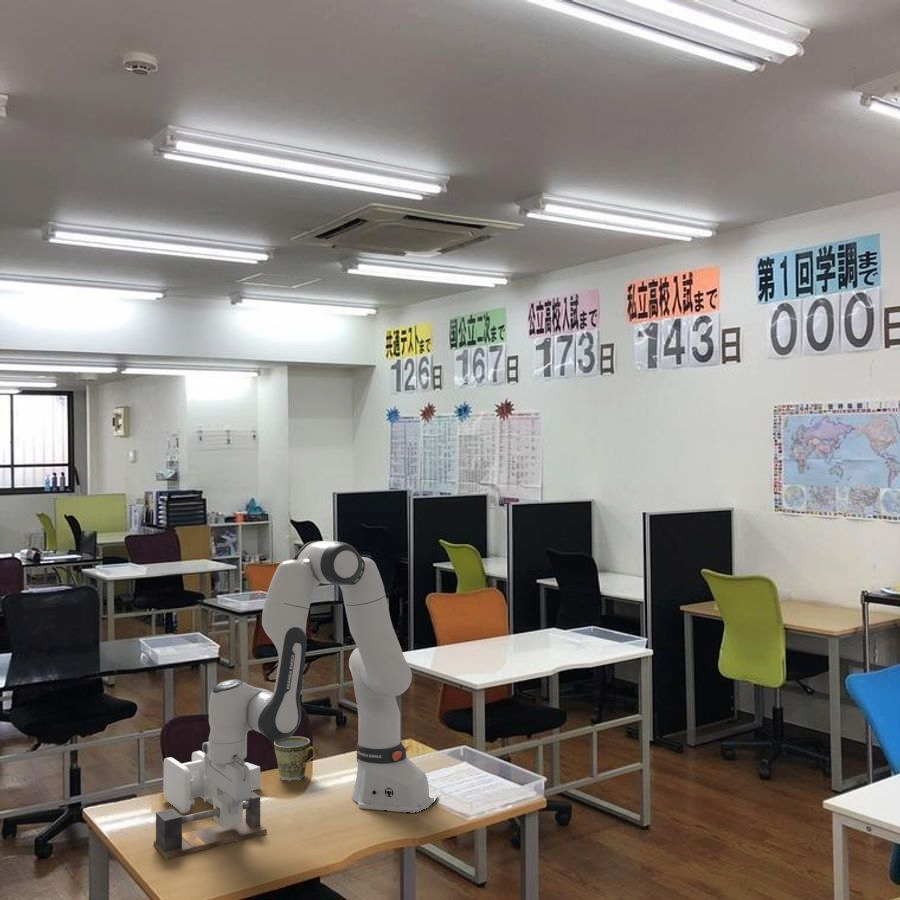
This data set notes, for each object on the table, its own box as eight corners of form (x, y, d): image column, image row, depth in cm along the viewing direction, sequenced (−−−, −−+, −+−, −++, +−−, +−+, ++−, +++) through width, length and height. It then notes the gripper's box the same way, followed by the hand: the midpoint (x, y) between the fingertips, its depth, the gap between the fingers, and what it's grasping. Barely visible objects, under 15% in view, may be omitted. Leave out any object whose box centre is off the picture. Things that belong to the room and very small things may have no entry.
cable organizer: (161, 800, 240) (161, 755, 240) (199, 790, 247) (199, 747, 247) (184, 817, 228) (184, 770, 228) (223, 807, 235) (223, 761, 235)
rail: (251, 821, 226) (251, 788, 226) (266, 833, 218) (266, 799, 219) (153, 845, 212) (153, 810, 212) (166, 858, 204) (166, 822, 205)
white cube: (233, 815, 221) (233, 791, 221) (242, 822, 217) (242, 798, 217) (213, 820, 218) (213, 796, 218) (222, 827, 214) (222, 803, 214)
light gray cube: (242, 795, 244) (242, 772, 244) (228, 790, 247) (228, 767, 247) (260, 788, 248) (260, 766, 248) (246, 783, 252) (246, 762, 252)
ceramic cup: (266, 780, 254) (266, 744, 254) (286, 769, 263) (286, 734, 264) (306, 787, 249) (306, 750, 249) (325, 775, 258) (325, 739, 258)
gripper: (258, 759, 211) (258, 819, 211) (224, 737, 228) (224, 793, 228) (232, 764, 207) (232, 826, 207) (199, 742, 224) (199, 799, 224)
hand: (227, 808), depth 218 cm, fingers closed on white cube, 6 cm apart
